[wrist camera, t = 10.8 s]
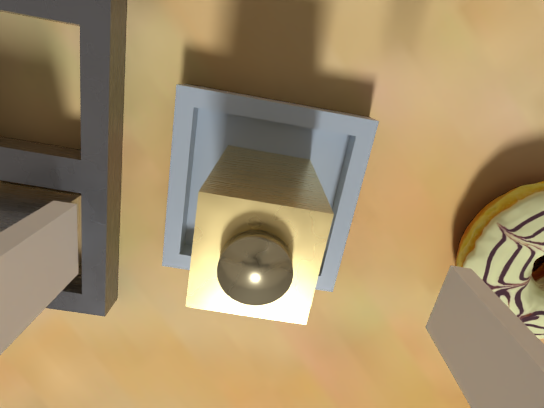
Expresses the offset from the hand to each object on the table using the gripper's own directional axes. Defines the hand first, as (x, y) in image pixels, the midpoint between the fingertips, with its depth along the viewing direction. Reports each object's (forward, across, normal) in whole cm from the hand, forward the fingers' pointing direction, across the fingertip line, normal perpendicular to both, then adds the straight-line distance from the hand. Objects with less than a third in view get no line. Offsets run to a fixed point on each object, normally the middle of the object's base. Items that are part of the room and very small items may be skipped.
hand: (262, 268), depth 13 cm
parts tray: (+11, 0, -1) cm, 11 cm away
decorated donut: (+11, +18, -2) cm, 21 cm away
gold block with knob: (+10, 0, -1) cm, 10 cm away
